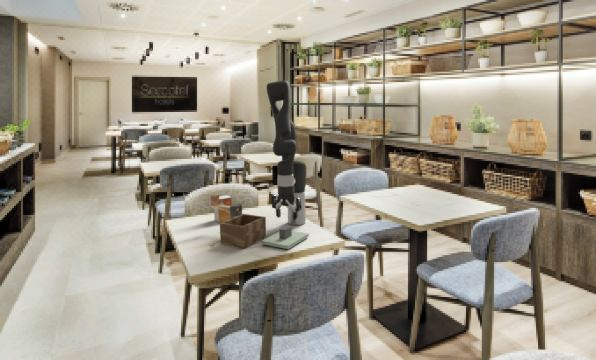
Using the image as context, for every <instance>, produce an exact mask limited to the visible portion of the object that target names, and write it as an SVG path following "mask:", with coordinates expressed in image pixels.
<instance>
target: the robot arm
mask: <svg viewBox="0 0 596 360" xmlns="http://www.w3.org/2000/svg"><path fill="white" fill-rule="evenodd" d="M266 93H267V98H268V102H269V105H270V108H271V111H272V115H273V119H274V126H275V136H274V137H275V138H274V141H273V144H272V145H273V146H272V152H273V154H274V155H275V156H277V157H281V160H280V161H278V162H277V180H276V181H277V182H276V183H277V194H278V195H277V194H274V195H272V196H271V208H272V209H275V215H276V218H278V219H279V218H281V210H282V209H281V207H287V224H289V225H290V226H300V225H304V224H305V223H306V221H307V220H306V186H307V164H306V163H305V162H304V161H299V160H295V157H296V153H297V148H298V147H297V142H296V140H297V133H296V127H295V124H294V122H293V120H292V119H291V106H292V105H291V102H292V91H291V85H290V82H289V80H285V79H284V80H277V81H273V82H268V83H267V85H266ZM280 101H283V103H282V106H281V107H280V106H279V104H278V102H280Z"/></svg>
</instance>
